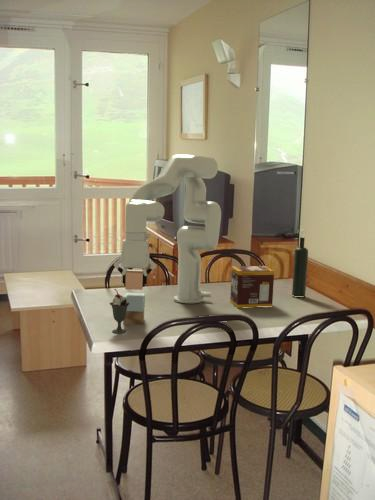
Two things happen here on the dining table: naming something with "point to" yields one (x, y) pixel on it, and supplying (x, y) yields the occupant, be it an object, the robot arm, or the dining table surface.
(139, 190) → the robot arm
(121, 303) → the sundae
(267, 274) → the supplement box
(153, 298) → the dining table surface
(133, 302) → the block top
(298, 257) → the wine bottle
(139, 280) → the cube
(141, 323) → the block bottom
